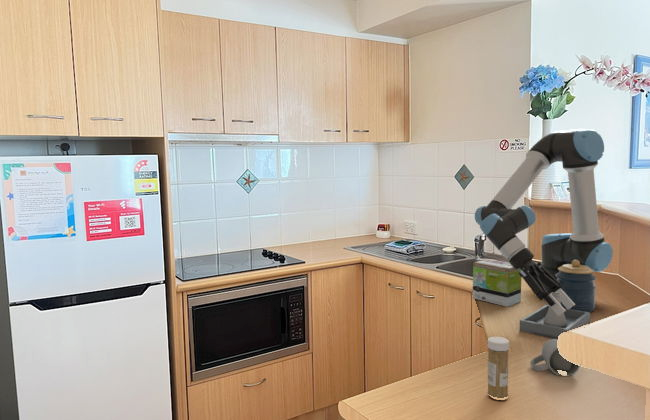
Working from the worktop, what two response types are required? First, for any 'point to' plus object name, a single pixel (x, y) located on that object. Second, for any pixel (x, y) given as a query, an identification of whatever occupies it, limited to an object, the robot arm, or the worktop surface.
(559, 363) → the ceramic mug
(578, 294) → the canister
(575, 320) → the charcoal tray
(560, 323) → the flask
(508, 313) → the worktop surface
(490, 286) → the tea box
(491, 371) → the sprinkles bottle
